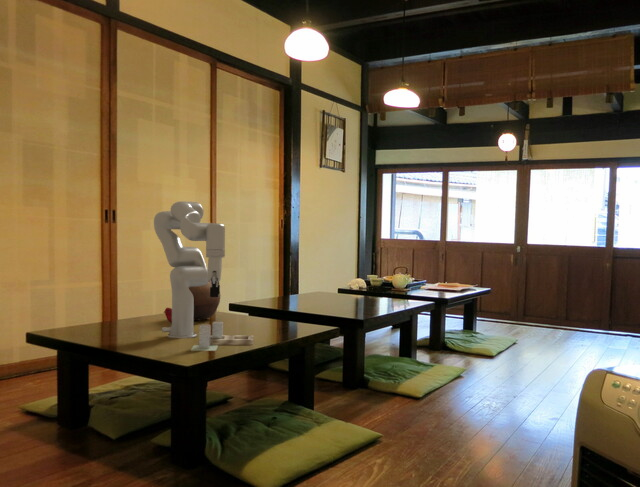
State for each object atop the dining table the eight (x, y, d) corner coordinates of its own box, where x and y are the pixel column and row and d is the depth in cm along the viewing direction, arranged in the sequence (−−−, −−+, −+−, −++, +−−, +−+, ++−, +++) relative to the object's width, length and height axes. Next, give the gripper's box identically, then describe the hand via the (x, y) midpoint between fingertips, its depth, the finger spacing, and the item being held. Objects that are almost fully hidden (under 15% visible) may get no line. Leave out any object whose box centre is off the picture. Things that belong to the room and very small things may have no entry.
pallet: (204, 346, 225) (204, 340, 225) (206, 341, 235) (207, 335, 235) (252, 346, 227) (252, 340, 227) (253, 341, 237) (253, 335, 237)
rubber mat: (190, 352, 214) (190, 350, 214) (193, 346, 224) (193, 345, 224) (216, 352, 214) (216, 350, 214) (218, 346, 224) (218, 345, 224)
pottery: (167, 319, 287) (167, 272, 287) (201, 314, 306) (201, 270, 305) (195, 325, 274) (196, 275, 273) (229, 319, 292) (229, 273, 291)
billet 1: (199, 348, 217) (199, 326, 217) (200, 346, 221) (200, 324, 221) (209, 348, 217) (209, 326, 217) (210, 346, 221) (210, 324, 221)
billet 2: (212, 344, 228) (212, 323, 228) (213, 342, 232) (213, 321, 232) (221, 344, 229) (222, 323, 228) (222, 342, 233) (222, 321, 232)
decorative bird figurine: (161, 328, 263) (161, 307, 263) (191, 323, 277) (192, 304, 276) (164, 328, 261) (165, 308, 261) (195, 324, 275) (195, 304, 275)
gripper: (207, 252, 229) (207, 293, 229) (204, 254, 212) (203, 298, 212) (225, 253, 230) (225, 293, 230) (223, 254, 213) (223, 298, 213)
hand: (215, 295), depth 221 cm, fingers open, 9 cm apart
